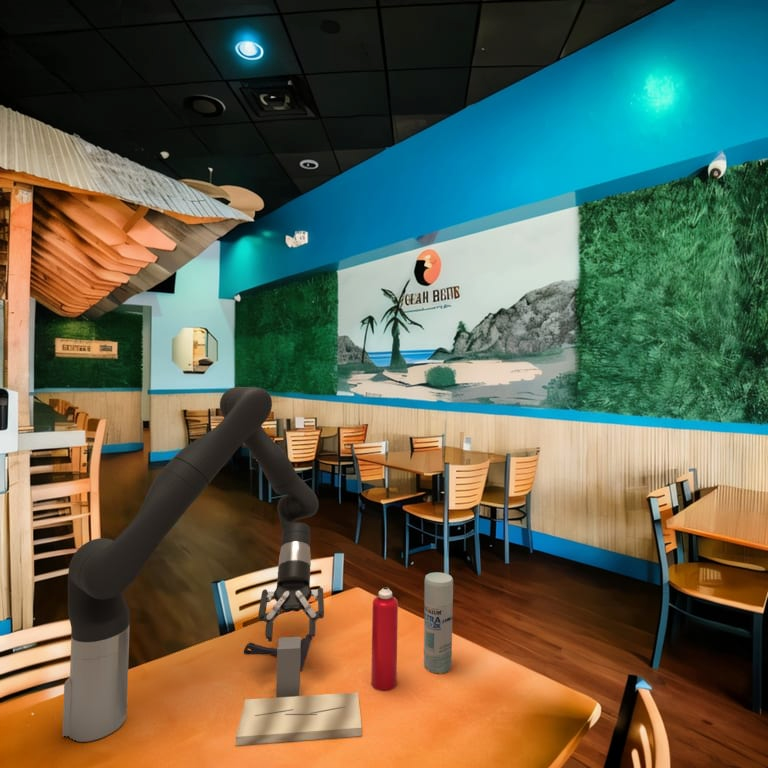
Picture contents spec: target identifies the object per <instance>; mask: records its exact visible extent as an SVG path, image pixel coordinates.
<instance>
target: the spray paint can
mask: <svg viewBox="0 0 768 768" xmlns="http://www.w3.org/2000/svg"><path fill="white" fill-rule="evenodd" d="M423 595H424V601H423V603H424V607H423V609H424V612H423V613H424V615H423V619H424V621H423V666H425V667H424V668H425V669H426V670H427V671H428V670H429V671H430V672H429V671H428V672H429V673H432V672H433V673H432V674H435V673H444V674H447V673H449V672H450V671H451V669H452V661H453V659H452V658H453V657H452V654H453V653H452V652H453V650H452V648H453V647H452V646H453V605H454V579H453V577H452V575H450V574H448V573H445V572H441V571H440V572H437V571H436V572H429V573H428V574H426V575H425V578H424V594H423ZM449 670H450V671H449ZM448 671H449V672H448ZM446 672H447V673H446Z"/></svg>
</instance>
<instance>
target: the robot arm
mask: <svg viewBox="0 0 768 768" xmlns="http://www.w3.org/2000/svg"><path fill="white" fill-rule="evenodd" d="M272 407H273V399H272V396H271V395H270V393H269V392H268V391H267V390H265V389H264V388H261V387H257V386H237V387H231V388H229V389H226V390H225V392H223V394H222V396H221V397H220V401H219V410H220V414H221V415H222V417H223V419H222V420H221V421H220V422H219V423H218V424H217V425H216V426H215V427H214V428H212V429H211V430H210V431H208V432H206V433H204V435H202V436H201V437H198V438H197V439H195V440H194V441H193V442H190V444H188V445H187V446H185V447H183V448H182V449H181V450H180V451H179V452H177V453H176V454H175V455H174V456H173V457H172V459H171V460H169V461H168V463H167V464H166V465H165V466H164V467H163V468H162V470H161V471H160V472H158V474H157V475H156V476H155V478H154V479H153V482H152V483H151V486H150V487H149V490H148V491H147V494H146V495H145V499H144V500H143V503H142V505H141V508H140V510H139V511H138V512H137V514H136V515H135V517H134V518H133V520H132V521H131V522H130V524H128V526H126V527H125V529H124V530H123V531H122V532H121V533H120V534H119V535H118V536H117V537H116V538H115V539H114V540H113V539H110V538H103V537H102V538H101V537H100V538H94V539H91V540H89V541H87V542H85V543H84V544H83V545H81V546H80V547H79V548H78V549H77V550H76V552H74V554H73V556H72V558H71V560H70V563H69V566H68V573H67V615H68V618H69V623H70V628H71V629H70V631H71V632H70V634H71V637H70V639H71V640H70V641H71V642H70V665H69V666H70V667H69V668H70V671H69V677H68V678H67V679H66V680H65V682H64V684H63V685H64V686H63V706H62V707H63V713H62V736H63V737H62V738H69V737H70V739H71V738H72V739H73V741H75V740H76V742H81V743H83V742H92V741H96V740H99V739H102V738H104V737H105V738H106V737H107V736H109V735H110V734H112V733H114V732H115V731H117V730H118V729H119V728H120V727H122V725H123V724H124V723H125V721H126V720H127V714H128V711H127V709H128V688H129V687H128V685H129V655H130V654H129V653H130V652H129V650H130V649H129V648H130V621H131V620H130V619H131V618H130V617H131V616H130V614H131V613H130V608H129V606H128V604H127V602H126V600H125V596H124V591H126V590H127V589H128V588H129V587H130V586H131V585H132V584H133V583H134V581H135V580H136V579H137V577H138V576H139V574H140V573H141V572H142V570H143V569H144V567H145V566H146V565H147V563H148V562H149V560H150V559H151V557H152V556H153V554H154V553H155V552H156V550H157V548H158V547H159V546H160V544H161V542H162V541H163V540H164V538H165V537H166V536H167V534H168V533H169V532H170V531H171V530H172V529H173V528H174V526H175V525H177V523H178V521H179V520H180V519H181V518H182V517H183V515H185V513H186V512H187V510H188V509H189V508H190V507H191V505H192V504H193V503H194V502H195V501H196V500H197V498H199V497H200V495H201V494H202V493H203V492H204V491H205V489H206V488H207V487H208V486H209V484H210V483H211V482H212V480H214V478H215V477H216V475H217V474H218V473H219V472H220V471H221V469H222V468H223V467H224V466H225V465H226V464H227V463H228V462H229V460H230V459H231V458H232V457H233V455H234V454H235V453H236V451H237V450H238V449H239V448H240V447H241V446H242V445H243V444H244V445H245V446H246V448H247V449H248V450H249V452H250V453H251V455H252V456H253V457H254V459H255V460H256V462H257V463H258V465H259V467H260V468H261V470H262V472H263V474H264V475H265V478H266V479H267V481H268V482H269V484H270V486H271V488H272V490H273V491H274V492H275V494H277V495H281V496H282V497H280V499H279V501H278V502H277V503H278V504H277V513H278V517H279V521H280V526H281V527H280V528H281V546H280V552H279V556H278V558H279V559H278V567H277V577H276V579H277V580H276V581H277V582H276V588H275V590H274V591H268V589H263V590H262V591H261V595H260V596H261V597H260V603H259V607H258V613H257V614H258V620H259V621H260V622H265V629H264V631H265V632H264V635H265V639H266V640H267V641H268V642H269V643H270V642H273V634H274V633H273V630H274V620H275V619H276V618H277V617H278V616H280V614H281V613H282V611H283V612H284V613H289V612H295V613H296V612H300V611H301V610H302V611H303V613H304V614H305V615H306V616H307V617H308V634H309V640H311V641H312V640H313V637H315V636H316V622H317V620H319V619H323V618H324V616H325V603H324V588H323V587H318V588H317V589H311V565H312V562H311V558H312V557H311V529H310V526H309V524H307V523H304V522H300V521H297V520H302V519H305V518H307V519H308V518H310V517H312V516H315V515H316V514H317V512H318V509H319V506H320V505H319V504H320V503H319V500H318V497H317V495H316V493H315V492H314V491H313V489H312V488H311V487H310V486H309V485H307V483H306V482H305V481H304V480H303V479H302V478H301V477H300V476H299V475H298V473H297V472H296V470H295V467H294V465H293V463H292V462H291V460H290V459H289V457H288V456H287V454H286V453H285V452H284V450H283V449H282V448H281V447H280V446H279V445H278V444H277V443H276V442H275V441H274V439H272V438H271V436H270V435H269V434H267V432H266V430H265V429H264V428H263V426H262V425H263V424H264V423H265V422H266V421H267V419H268V418H269V416H270V414H271V412H272ZM312 597H313V598H314V600H315V601H317V608H318V610H317V611H314V609H313V608H312V606H311V604H310V603H309V601H310V599H311V598H312ZM273 598H274V599H275V601H276V603H275V604H274V605H273V607H272V609H271V610H270V611H269V613H267V606H268V603H271V600H272V599H273ZM64 736H66V737H64ZM67 736H69V737H67ZM72 739H71V740H72Z"/></svg>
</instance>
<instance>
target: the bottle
mask: <svg viewBox="0 0 768 768" xmlns="http://www.w3.org/2000/svg"><path fill="white" fill-rule="evenodd" d="M398 610H399V602H398V599H397V598H396V597H395V596H393V592H392V590H390V588H389V587H387V586H385V587H383V588H382V589H381V590H379V591H378V595H376V597H374V598H373V600H372V615H371V617H372V619H371V621H372V622H371V623H372V624H371V665H370V666H371V673H370V675H371V676H370V678H371V679H370V681H371V682H370V683H371V684H370V685H371V687H373V688H374V689H375V690H378V691H381V692H386V691H391V690H394V689H395V688H396V687H397V682H398V681H397V680H398V679H397V677H398V672H397V671H398V628H399V627H398V624H399V623H398V622H399V621H398V620H399V619H398V617H399V616H398V615H399V611H398Z"/></svg>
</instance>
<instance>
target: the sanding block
mask: <svg viewBox="0 0 768 768" xmlns="http://www.w3.org/2000/svg"><path fill="white" fill-rule="evenodd" d="M301 640H302V636H292V637H291V636H290V637H287V636H285V637H279V639H278V643H277V648H276V649H277V656H276V685H275V686H276V691H275V692H276V693H275V695H276V696H275V698H278V697H294V696H300V691H301V672H300V662H301Z"/></svg>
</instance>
